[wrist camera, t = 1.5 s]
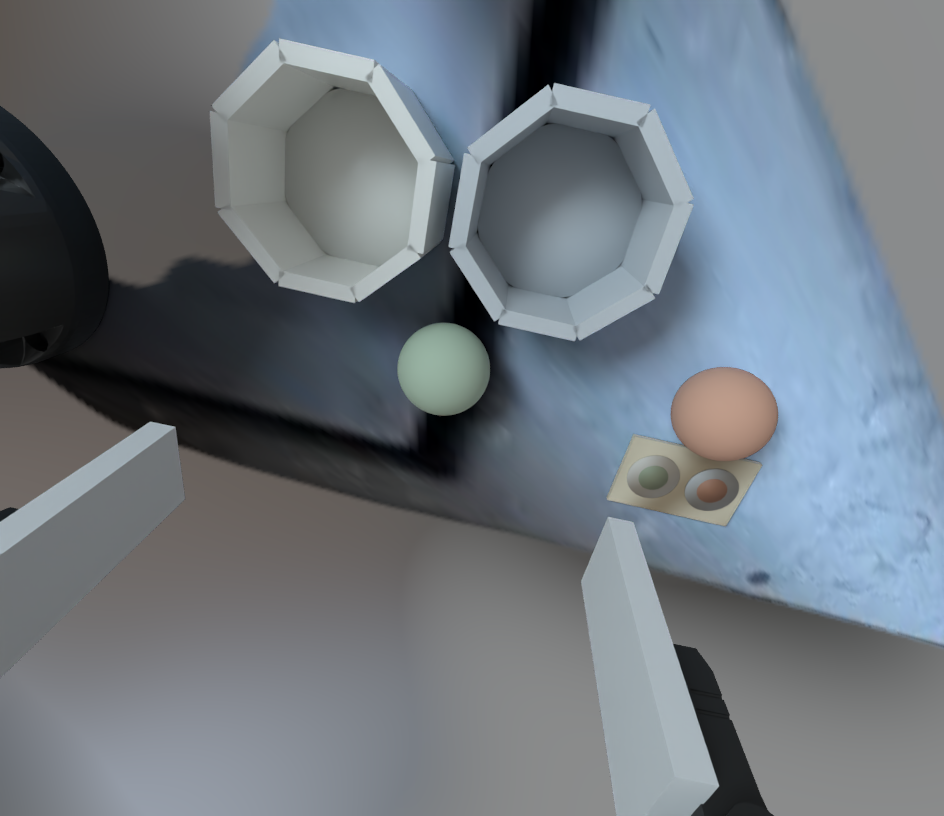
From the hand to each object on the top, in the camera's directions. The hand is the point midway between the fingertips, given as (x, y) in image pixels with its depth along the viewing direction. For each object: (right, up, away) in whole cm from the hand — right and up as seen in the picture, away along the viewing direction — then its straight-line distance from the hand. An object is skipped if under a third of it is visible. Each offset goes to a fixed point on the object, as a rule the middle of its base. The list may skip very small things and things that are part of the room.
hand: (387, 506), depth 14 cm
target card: (+16, -2, +15) cm, 22 cm away
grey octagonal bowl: (+7, +13, +9) cm, 17 cm away
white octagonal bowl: (-3, +14, +9) cm, 18 cm away
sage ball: (+1, +6, +13) cm, 15 cm away
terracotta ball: (+16, +4, +13) cm, 21 cm away
